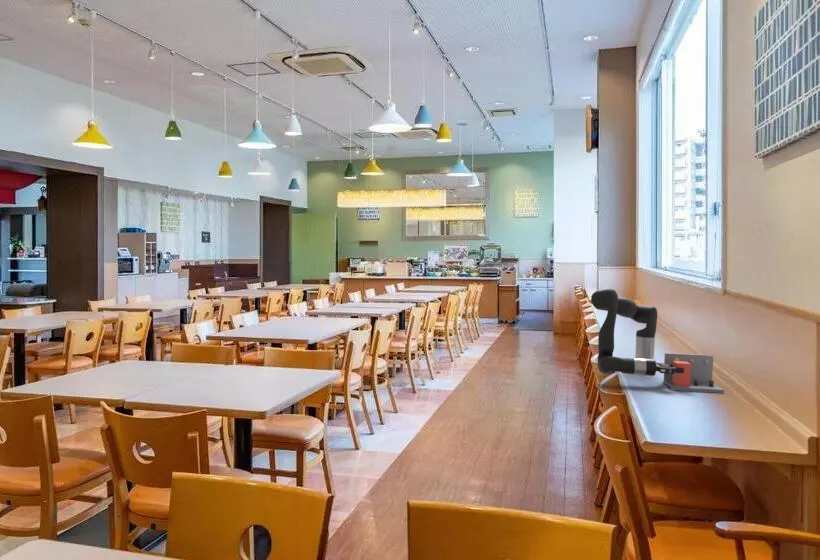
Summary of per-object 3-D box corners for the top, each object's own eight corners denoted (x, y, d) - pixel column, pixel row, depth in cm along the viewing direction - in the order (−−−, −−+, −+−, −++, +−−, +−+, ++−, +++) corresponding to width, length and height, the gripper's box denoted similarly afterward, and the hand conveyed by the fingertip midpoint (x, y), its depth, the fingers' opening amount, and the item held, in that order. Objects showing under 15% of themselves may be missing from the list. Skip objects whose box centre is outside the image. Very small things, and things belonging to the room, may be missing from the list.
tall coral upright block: (672, 382, 287) (673, 360, 286) (685, 383, 286) (686, 361, 285) (675, 385, 281) (676, 363, 280) (689, 386, 280) (690, 363, 279)
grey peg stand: (663, 382, 294) (664, 352, 294) (710, 385, 291) (712, 355, 291) (672, 390, 277) (674, 358, 277) (723, 393, 274) (725, 361, 274)
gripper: (647, 361, 278) (686, 363, 276) (640, 356, 292) (677, 358, 290) (646, 378, 279) (685, 380, 276) (640, 372, 293) (676, 374, 290)
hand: (681, 368), depth 283 cm, fingers open, 8 cm apart
